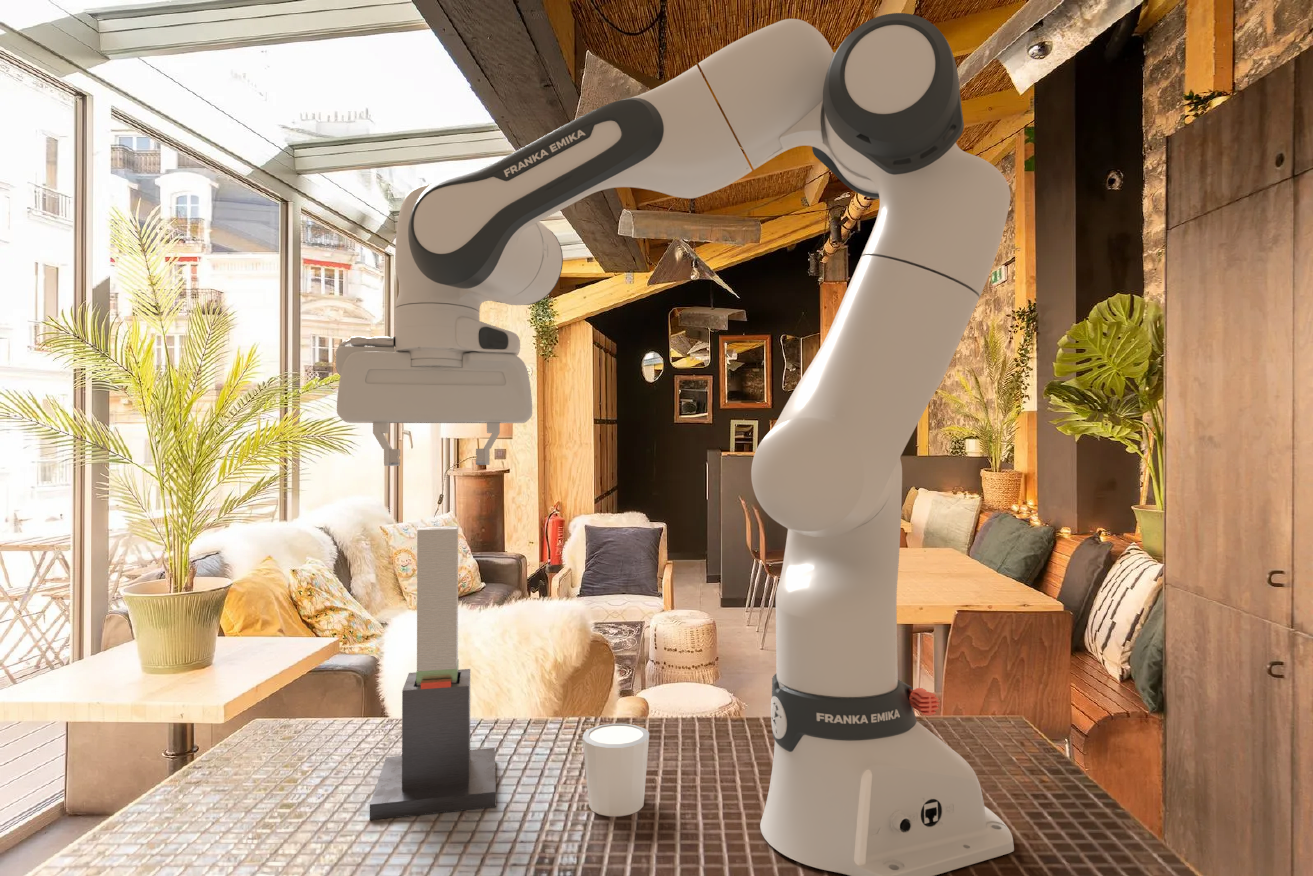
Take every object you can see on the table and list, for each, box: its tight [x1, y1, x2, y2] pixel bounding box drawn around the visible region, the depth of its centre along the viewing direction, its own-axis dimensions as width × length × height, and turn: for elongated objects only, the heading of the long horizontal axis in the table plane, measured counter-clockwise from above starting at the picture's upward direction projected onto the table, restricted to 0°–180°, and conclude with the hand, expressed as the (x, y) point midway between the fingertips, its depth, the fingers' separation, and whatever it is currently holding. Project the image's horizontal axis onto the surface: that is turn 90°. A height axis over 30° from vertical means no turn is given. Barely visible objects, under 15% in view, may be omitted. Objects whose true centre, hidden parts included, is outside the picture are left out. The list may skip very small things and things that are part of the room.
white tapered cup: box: [582, 723, 650, 817], centre depth 77 cm, size 7×7×7 cm
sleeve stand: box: [369, 668, 497, 821], centre depth 80 cm, size 12×12×12 cm
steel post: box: [415, 525, 460, 687], centre depth 81 cm, size 4×4×18 cm
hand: (438, 465), depth 81 cm, fingers open, 8 cm apart
